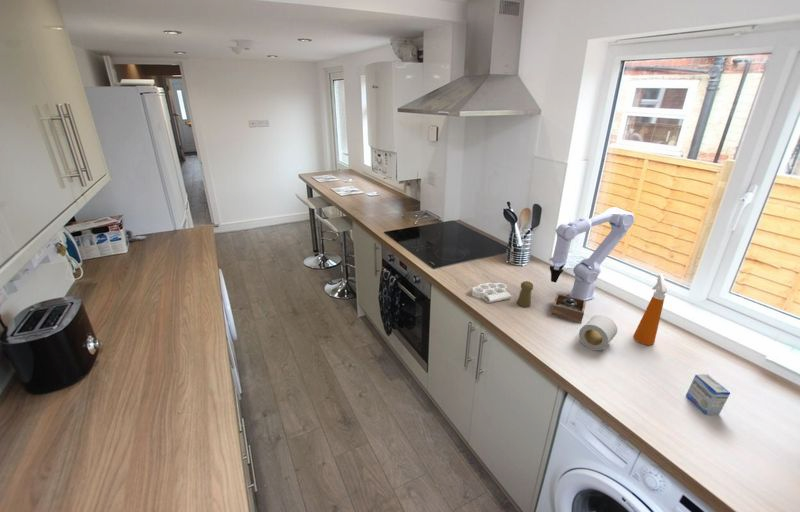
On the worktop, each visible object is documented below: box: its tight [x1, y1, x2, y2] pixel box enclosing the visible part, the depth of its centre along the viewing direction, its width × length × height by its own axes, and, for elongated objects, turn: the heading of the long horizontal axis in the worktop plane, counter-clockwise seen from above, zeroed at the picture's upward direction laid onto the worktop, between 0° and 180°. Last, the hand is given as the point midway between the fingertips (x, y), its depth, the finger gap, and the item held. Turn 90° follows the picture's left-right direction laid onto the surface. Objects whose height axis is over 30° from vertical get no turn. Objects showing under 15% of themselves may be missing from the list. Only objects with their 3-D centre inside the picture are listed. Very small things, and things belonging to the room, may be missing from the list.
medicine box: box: [685, 373, 731, 416], centre depth 110 cm, size 8×4×9 cm, turn 5°
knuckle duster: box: [471, 282, 512, 304], centre depth 172 cm, size 3×18×15 cm
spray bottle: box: [632, 273, 668, 346], centre depth 139 cm, size 7×11×26 cm, turn 161°
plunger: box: [557, 296, 581, 311], centre depth 158 cm, size 9×9×6 cm
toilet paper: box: [578, 314, 618, 351], centre depth 138 cm, size 10×10×10 cm
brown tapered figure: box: [516, 280, 534, 309], centre depth 162 cm, size 6×6×11 cm
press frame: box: [550, 293, 587, 324], centre depth 158 cm, size 12×12×5 cm
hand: (554, 278), depth 166 cm, fingers open, 7 cm apart
